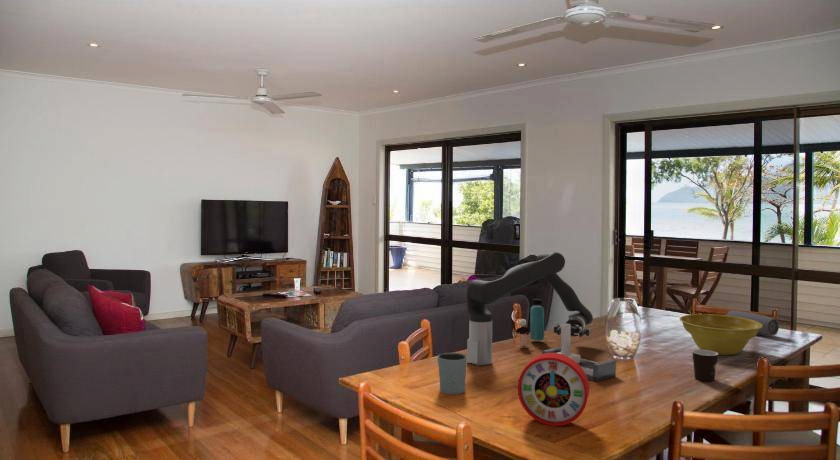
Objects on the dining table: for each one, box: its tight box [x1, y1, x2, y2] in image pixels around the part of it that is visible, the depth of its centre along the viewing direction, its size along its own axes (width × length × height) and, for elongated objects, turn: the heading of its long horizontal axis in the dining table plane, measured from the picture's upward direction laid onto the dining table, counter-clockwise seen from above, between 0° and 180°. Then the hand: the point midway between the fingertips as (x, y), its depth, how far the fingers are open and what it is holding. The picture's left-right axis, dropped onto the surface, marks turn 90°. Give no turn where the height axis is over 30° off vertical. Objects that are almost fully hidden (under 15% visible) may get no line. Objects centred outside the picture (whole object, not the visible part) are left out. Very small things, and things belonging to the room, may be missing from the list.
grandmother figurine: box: [514, 318, 531, 349], centre depth 261 cm, size 8×4×13 cm, turn 108°
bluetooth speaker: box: [726, 310, 780, 336], centre depth 291 cm, size 23×9×10 cm, turn 25°
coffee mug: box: [691, 349, 719, 383], centre depth 215 cm, size 12×9×10 cm
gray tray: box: [541, 346, 617, 382], centre depth 225 cm, size 11×26×6 cm, turn 37°
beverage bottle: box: [529, 298, 545, 341], centre depth 272 cm, size 6×7×20 cm
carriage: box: [558, 323, 581, 363], centre depth 230 cm, size 8×8×15 cm
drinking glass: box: [437, 352, 468, 395], centre depth 201 cm, size 10×10×12 cm
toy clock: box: [517, 353, 590, 427], centre depth 172 cm, size 20×6×20 cm, turn 69°
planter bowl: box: [679, 313, 763, 356], centre depth 255 cm, size 32×32×13 cm
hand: (569, 333), depth 238 cm, fingers open, 8 cm apart
